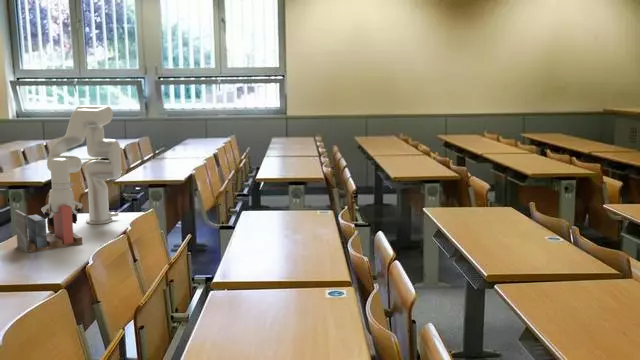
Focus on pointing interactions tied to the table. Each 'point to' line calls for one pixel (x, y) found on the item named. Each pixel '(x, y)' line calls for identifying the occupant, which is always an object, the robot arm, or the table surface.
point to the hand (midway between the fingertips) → (63, 224)
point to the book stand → (37, 234)
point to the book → (64, 224)
